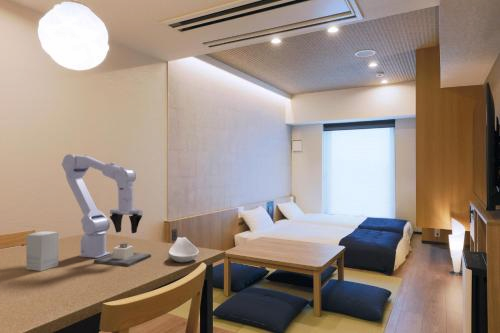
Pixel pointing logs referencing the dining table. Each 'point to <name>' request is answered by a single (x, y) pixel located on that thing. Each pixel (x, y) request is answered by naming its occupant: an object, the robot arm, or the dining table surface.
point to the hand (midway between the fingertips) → (126, 232)
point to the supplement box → (41, 250)
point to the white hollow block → (122, 252)
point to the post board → (124, 262)
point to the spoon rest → (183, 250)
